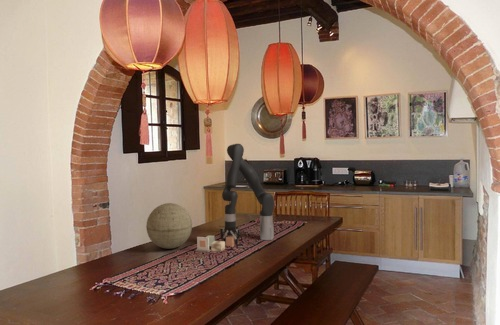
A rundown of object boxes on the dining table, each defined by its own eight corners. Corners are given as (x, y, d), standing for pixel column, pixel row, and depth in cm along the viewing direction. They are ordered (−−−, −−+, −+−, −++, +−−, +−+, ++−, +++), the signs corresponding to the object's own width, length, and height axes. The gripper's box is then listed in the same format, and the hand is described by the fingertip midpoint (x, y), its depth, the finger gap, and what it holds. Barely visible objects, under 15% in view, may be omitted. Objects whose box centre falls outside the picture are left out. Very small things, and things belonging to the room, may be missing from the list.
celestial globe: (138, 248, 271) (136, 203, 270) (175, 240, 293) (174, 198, 291) (163, 257, 250) (162, 208, 249) (201, 247, 272) (200, 202, 270)
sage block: (215, 243, 280) (214, 235, 280) (213, 245, 275) (213, 237, 275) (207, 243, 281) (207, 235, 280) (206, 245, 276) (206, 237, 275)
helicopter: (249, 237, 316) (249, 218, 318) (244, 241, 283) (245, 219, 285) (220, 237, 318) (221, 218, 320) (212, 240, 285) (213, 219, 287)
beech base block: (225, 248, 268) (225, 241, 267) (221, 251, 261) (221, 244, 261) (215, 248, 270) (215, 240, 269) (211, 251, 263) (211, 243, 263)
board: (210, 251, 262) (210, 237, 262) (208, 252, 259) (208, 238, 259) (197, 250, 265) (197, 236, 265) (195, 251, 262) (195, 237, 262)
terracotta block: (235, 244, 277) (235, 236, 276) (232, 246, 272) (232, 238, 272) (228, 244, 278) (228, 235, 278) (226, 246, 274) (225, 237, 273)
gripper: (242, 219, 276) (242, 243, 276) (222, 218, 280) (223, 242, 281) (238, 221, 268) (238, 246, 269) (218, 220, 273) (218, 244, 274)
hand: (230, 244), depth 275 cm, fingers open, 7 cm apart
